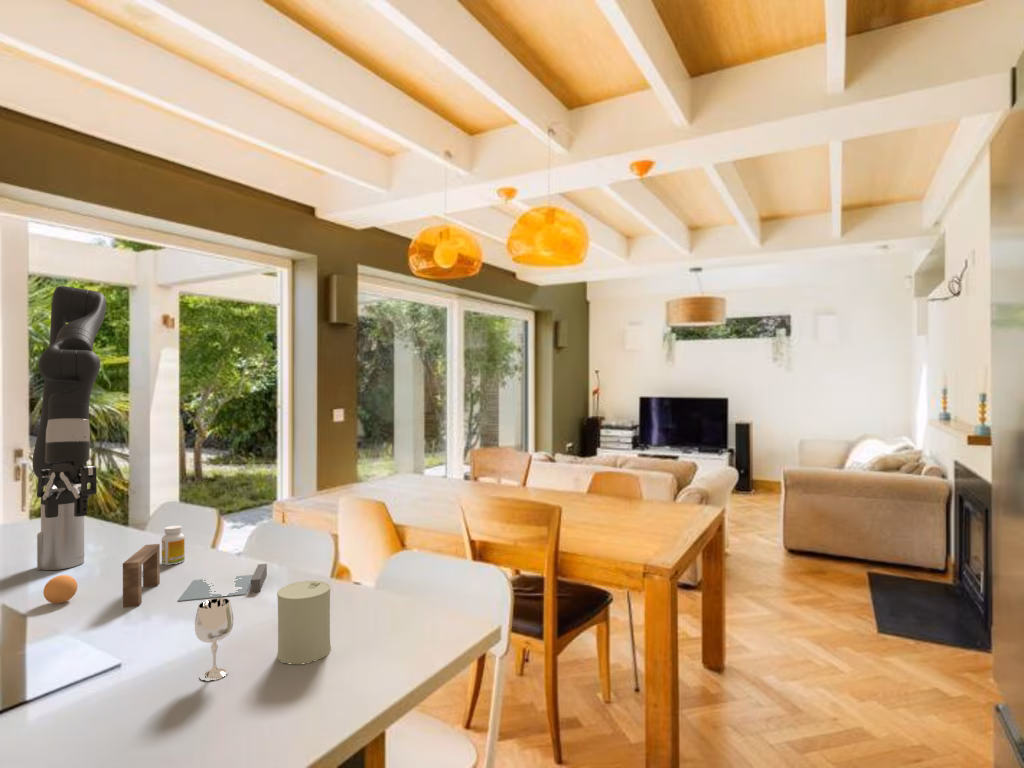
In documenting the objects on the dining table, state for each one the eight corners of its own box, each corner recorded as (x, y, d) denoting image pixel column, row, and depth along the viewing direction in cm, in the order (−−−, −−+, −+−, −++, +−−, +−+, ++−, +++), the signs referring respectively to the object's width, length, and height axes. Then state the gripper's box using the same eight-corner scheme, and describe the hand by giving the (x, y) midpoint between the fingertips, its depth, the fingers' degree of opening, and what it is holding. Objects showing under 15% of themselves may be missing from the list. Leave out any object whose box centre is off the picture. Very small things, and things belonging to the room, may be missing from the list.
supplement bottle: (189, 559, 158) (188, 524, 158) (175, 566, 153) (175, 529, 153) (171, 559, 159) (170, 524, 159) (157, 565, 153) (156, 529, 153)
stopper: (250, 592, 133) (250, 580, 133) (258, 576, 144) (258, 564, 144) (260, 591, 133) (260, 579, 133) (266, 575, 145) (266, 563, 145)
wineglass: (194, 687, 92) (194, 612, 92) (195, 671, 97) (195, 600, 97) (234, 678, 94) (233, 606, 94) (233, 663, 99) (232, 594, 99)
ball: (37, 609, 123) (37, 581, 123) (51, 599, 129) (51, 572, 129) (70, 606, 125) (70, 578, 125) (82, 596, 131) (82, 570, 131)
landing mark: (177, 601, 128) (177, 600, 128) (193, 580, 141) (193, 580, 141) (245, 594, 132) (245, 593, 132) (254, 575, 145) (254, 574, 145)
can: (341, 645, 106) (341, 581, 106) (308, 668, 97) (308, 598, 97) (300, 638, 109) (300, 575, 109) (265, 660, 100) (265, 592, 100)
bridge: (122, 607, 124) (122, 563, 124) (145, 584, 138) (145, 544, 138) (138, 606, 125) (138, 562, 125) (159, 583, 139) (159, 543, 139)
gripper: (109, 438, 124) (107, 513, 122) (62, 442, 128) (60, 515, 127) (74, 438, 117) (71, 518, 115) (25, 442, 121) (22, 520, 119)
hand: (65, 516), depth 121 cm, fingers open, 8 cm apart
